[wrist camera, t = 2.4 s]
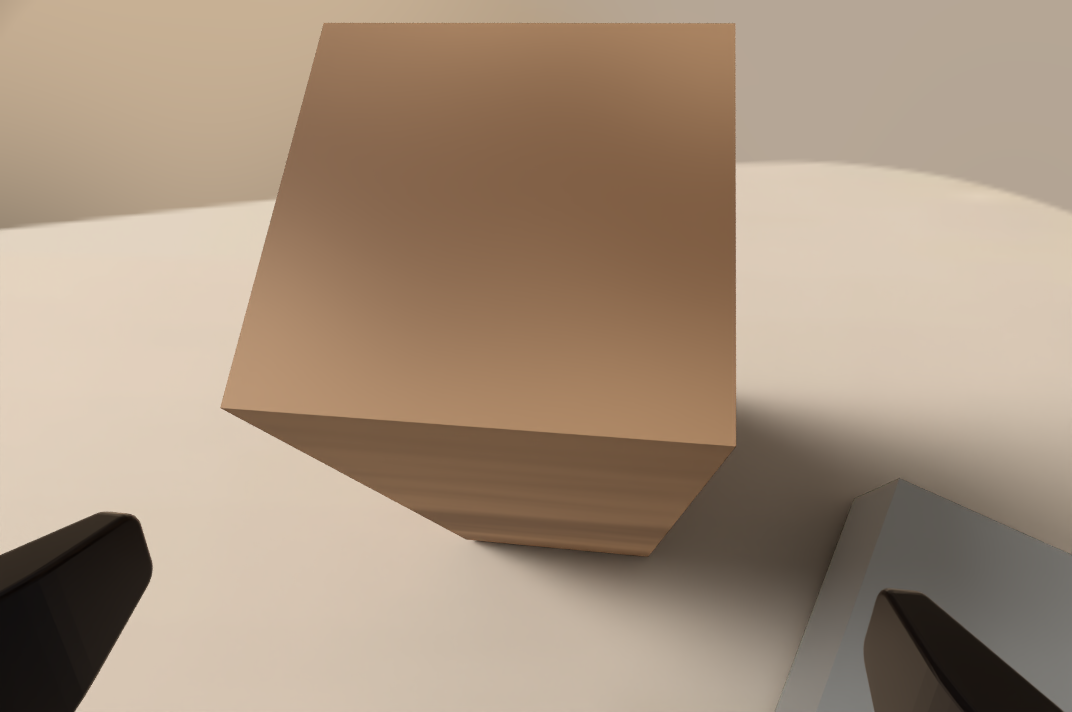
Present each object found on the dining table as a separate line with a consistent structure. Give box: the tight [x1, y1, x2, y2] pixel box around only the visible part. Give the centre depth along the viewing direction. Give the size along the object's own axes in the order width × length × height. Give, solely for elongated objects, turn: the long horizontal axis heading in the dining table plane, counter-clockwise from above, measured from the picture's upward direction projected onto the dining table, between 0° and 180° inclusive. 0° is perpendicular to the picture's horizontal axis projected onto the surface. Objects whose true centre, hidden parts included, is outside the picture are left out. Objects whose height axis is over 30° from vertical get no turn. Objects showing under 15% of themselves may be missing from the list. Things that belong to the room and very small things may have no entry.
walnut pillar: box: [220, 23, 736, 557], centre depth 13 cm, size 5×5×13 cm
